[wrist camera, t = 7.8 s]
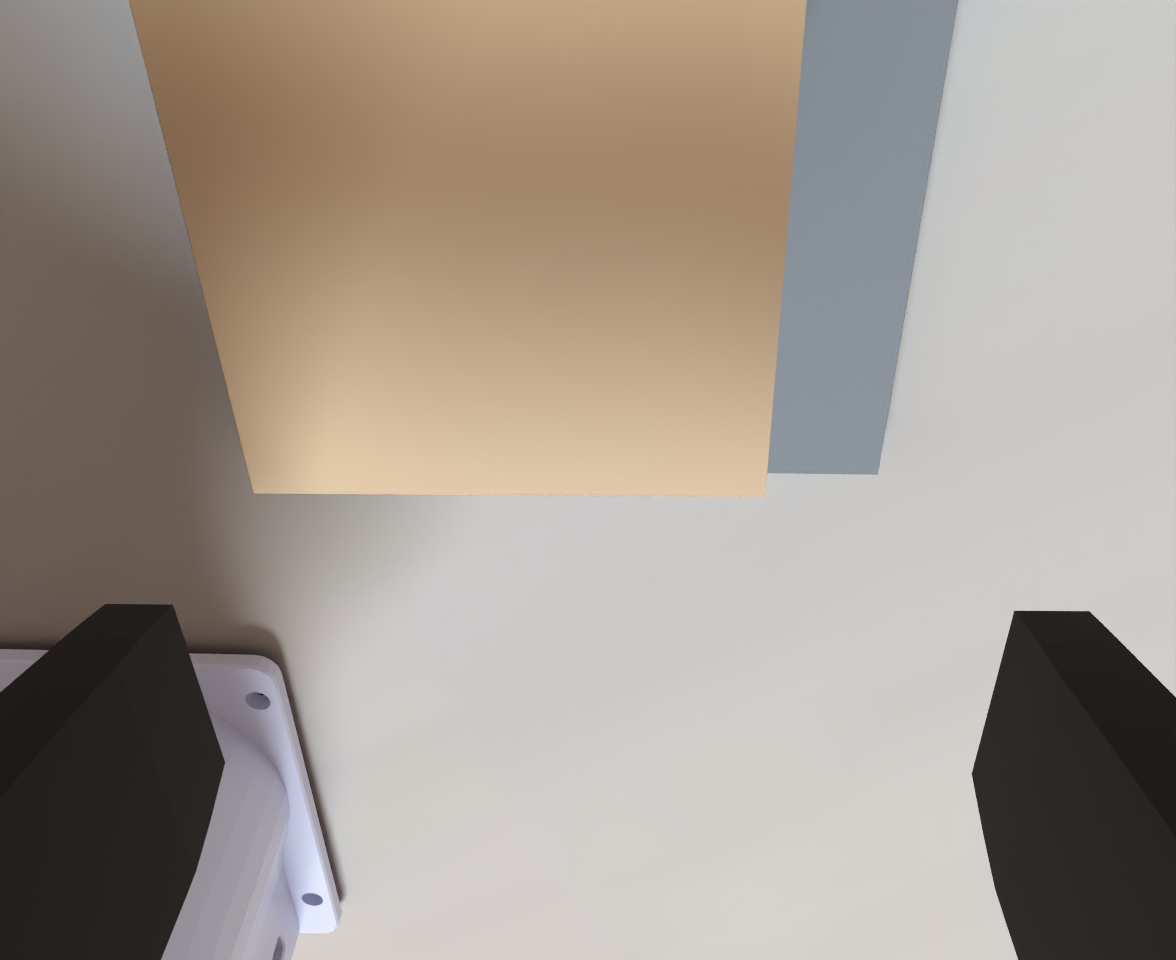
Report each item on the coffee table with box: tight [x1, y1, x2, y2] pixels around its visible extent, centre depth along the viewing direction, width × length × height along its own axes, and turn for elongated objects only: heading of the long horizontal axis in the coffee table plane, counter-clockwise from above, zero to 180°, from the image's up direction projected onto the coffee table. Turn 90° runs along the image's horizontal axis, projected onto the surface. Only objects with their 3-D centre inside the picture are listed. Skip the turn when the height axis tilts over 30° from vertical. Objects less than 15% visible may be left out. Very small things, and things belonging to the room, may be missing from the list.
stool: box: [129, 0, 807, 497], centre depth 12 cm, size 5×5×7 cm
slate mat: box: [767, 0, 958, 475], centre depth 15 cm, size 14×11×1 cm
